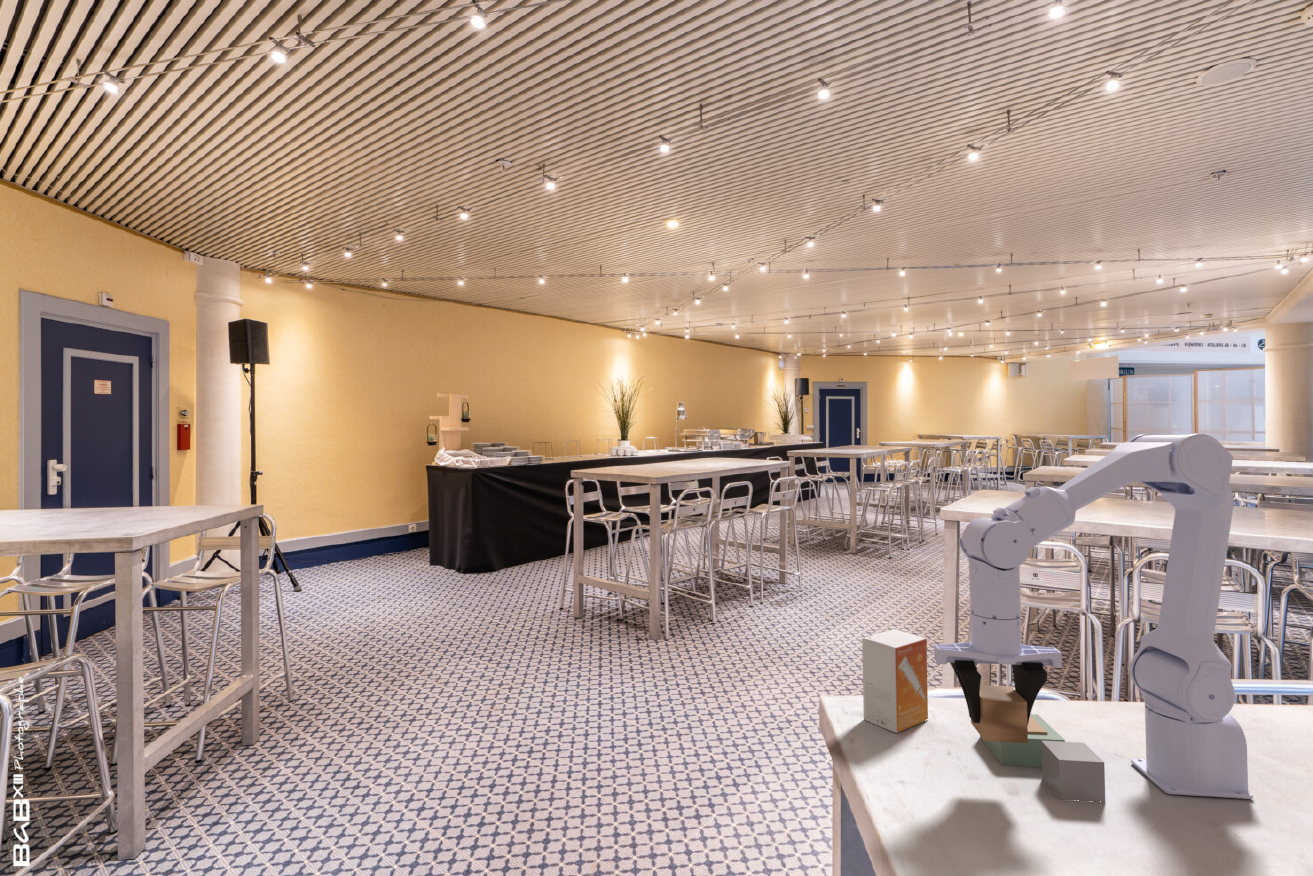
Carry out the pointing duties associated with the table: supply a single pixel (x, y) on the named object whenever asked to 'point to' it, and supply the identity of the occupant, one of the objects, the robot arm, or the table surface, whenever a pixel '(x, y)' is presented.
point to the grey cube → (1073, 771)
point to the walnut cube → (1002, 715)
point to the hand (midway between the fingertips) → (998, 720)
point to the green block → (1025, 745)
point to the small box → (895, 680)
